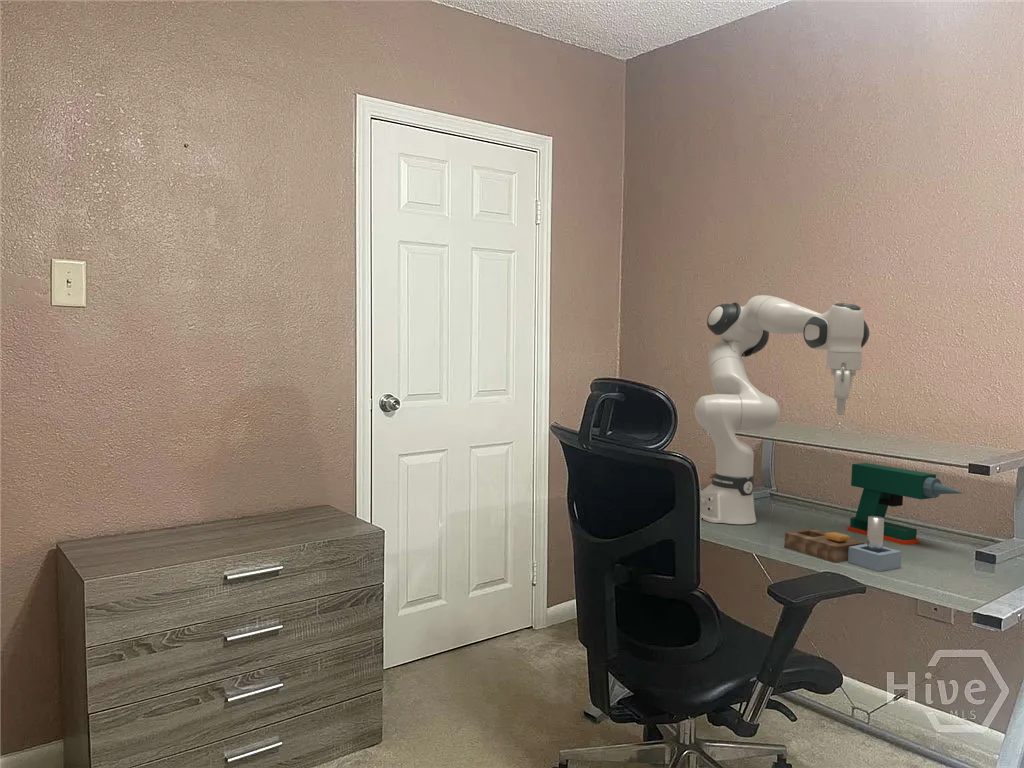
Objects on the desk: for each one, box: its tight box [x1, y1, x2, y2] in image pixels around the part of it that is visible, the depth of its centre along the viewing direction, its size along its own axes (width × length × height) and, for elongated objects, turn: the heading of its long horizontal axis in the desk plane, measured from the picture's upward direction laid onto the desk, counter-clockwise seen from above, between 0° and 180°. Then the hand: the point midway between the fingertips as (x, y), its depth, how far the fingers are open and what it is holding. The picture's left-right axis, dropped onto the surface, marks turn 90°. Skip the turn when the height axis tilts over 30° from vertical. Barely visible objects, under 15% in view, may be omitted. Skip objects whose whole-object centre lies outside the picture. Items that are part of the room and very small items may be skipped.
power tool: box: [846, 462, 963, 546], centre depth 217 cm, size 32×7×20 cm, turn 30°
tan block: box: [825, 531, 850, 543], centre depth 200 cm, size 4×4×5 cm
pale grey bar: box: [866, 516, 885, 553], centre depth 193 cm, size 4×4×12 cm
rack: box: [847, 543, 903, 573], centre depth 193 cm, size 9×9×4 cm
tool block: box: [784, 528, 865, 564], centre depth 204 cm, size 16×11×4 cm
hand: (840, 413), depth 212 cm, fingers open, 8 cm apart
